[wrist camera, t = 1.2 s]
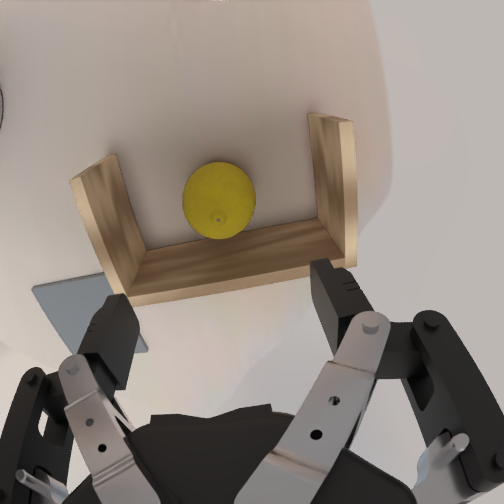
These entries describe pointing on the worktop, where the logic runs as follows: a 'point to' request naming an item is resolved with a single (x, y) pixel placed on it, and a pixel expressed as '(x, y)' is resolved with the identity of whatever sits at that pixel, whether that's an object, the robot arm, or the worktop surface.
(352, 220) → the open u-shaped oak frame
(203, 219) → the lemon
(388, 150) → the worktop surface
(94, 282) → the slate coaster
